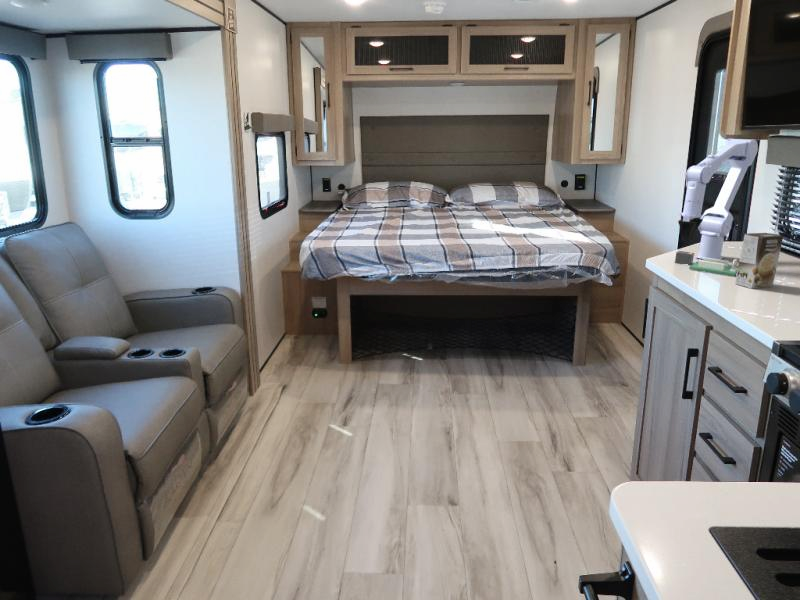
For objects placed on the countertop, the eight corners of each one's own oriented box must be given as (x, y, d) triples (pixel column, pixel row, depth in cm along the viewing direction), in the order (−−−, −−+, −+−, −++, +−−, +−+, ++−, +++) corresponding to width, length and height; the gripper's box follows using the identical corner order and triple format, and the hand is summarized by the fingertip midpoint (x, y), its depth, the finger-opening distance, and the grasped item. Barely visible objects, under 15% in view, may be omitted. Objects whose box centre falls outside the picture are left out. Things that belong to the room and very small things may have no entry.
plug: (677, 261, 222) (679, 250, 220) (692, 263, 219) (694, 252, 218) (674, 263, 219) (676, 252, 217) (689, 265, 216) (691, 254, 214)
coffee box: (752, 289, 187) (762, 237, 182) (734, 283, 192) (743, 233, 188) (773, 286, 190) (784, 235, 185) (755, 281, 196) (765, 232, 191)
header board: (697, 263, 218) (699, 251, 217) (741, 270, 210) (743, 257, 209) (689, 269, 209) (691, 256, 208) (734, 276, 201) (736, 263, 200)
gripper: (686, 198, 220) (680, 235, 224) (676, 201, 209) (670, 240, 213) (708, 200, 216) (701, 238, 220) (698, 203, 205) (691, 243, 209)
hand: (687, 239), depth 216 cm, fingers open, 7 cm apart
